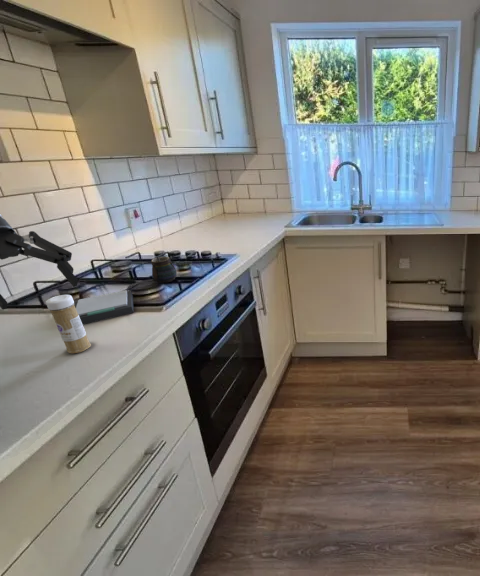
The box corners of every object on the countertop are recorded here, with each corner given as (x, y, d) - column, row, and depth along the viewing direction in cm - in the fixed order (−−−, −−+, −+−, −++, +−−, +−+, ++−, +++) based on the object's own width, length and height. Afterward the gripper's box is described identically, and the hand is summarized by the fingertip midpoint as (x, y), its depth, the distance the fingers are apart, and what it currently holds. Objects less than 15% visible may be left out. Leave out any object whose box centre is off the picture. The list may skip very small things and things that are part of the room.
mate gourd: (177, 275, 130) (169, 248, 126) (179, 281, 124) (172, 254, 120) (154, 280, 126) (145, 252, 122) (155, 286, 120) (147, 258, 116)
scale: (71, 327, 96) (68, 318, 95) (77, 307, 107) (74, 299, 106) (133, 312, 103) (130, 304, 102) (133, 296, 114) (130, 288, 113)
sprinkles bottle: (62, 354, 84) (39, 302, 79) (79, 343, 88) (58, 293, 83) (80, 354, 84) (58, 302, 78) (96, 343, 88) (76, 294, 83)
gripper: (47, 223, 97) (98, 283, 97) (-94, 250, 77) (-30, 325, 76) (49, 204, 93) (102, 267, 92) (-100, 227, 72) (-32, 308, 72)
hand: (42, 294), depth 84 cm, fingers open, 13 cm apart
